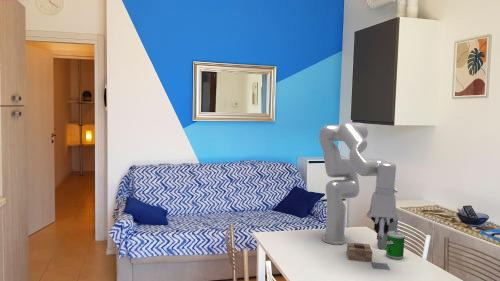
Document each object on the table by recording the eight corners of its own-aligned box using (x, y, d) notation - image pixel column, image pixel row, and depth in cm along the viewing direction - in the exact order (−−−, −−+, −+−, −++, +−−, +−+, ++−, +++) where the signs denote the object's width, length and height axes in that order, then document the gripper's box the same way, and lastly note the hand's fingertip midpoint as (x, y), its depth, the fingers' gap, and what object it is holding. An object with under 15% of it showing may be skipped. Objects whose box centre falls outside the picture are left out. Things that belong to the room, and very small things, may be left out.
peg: (376, 237, 172) (378, 215, 171) (383, 238, 171) (385, 216, 170) (377, 240, 169) (379, 217, 168) (384, 240, 168) (386, 218, 167)
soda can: (402, 255, 184) (403, 230, 183) (404, 261, 177) (405, 235, 176) (385, 253, 186) (386, 228, 185) (386, 259, 179) (388, 233, 178)
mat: (370, 262, 174) (370, 262, 174) (387, 264, 173) (387, 263, 173) (372, 269, 167) (372, 268, 167) (390, 270, 166) (390, 269, 166)
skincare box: (378, 248, 193) (380, 217, 191) (377, 244, 200) (378, 213, 198) (396, 250, 191) (398, 218, 189) (394, 245, 198) (396, 215, 196)
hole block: (346, 252, 186) (347, 242, 186) (368, 254, 184) (369, 244, 184) (348, 260, 176) (349, 249, 176) (371, 262, 175) (372, 251, 174)
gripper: (402, 190, 170) (398, 231, 172) (363, 187, 173) (360, 227, 175) (406, 194, 163) (402, 237, 165) (365, 191, 165) (362, 233, 167)
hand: (380, 232), depth 170 cm, fingers closed on peg, 3 cm apart
